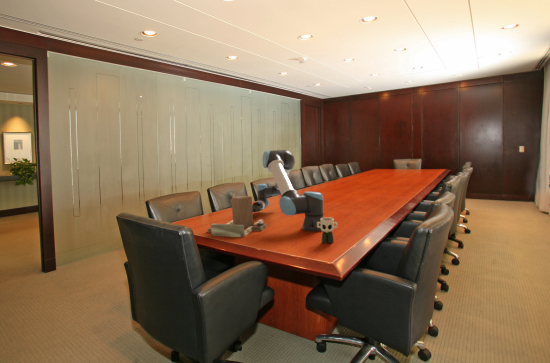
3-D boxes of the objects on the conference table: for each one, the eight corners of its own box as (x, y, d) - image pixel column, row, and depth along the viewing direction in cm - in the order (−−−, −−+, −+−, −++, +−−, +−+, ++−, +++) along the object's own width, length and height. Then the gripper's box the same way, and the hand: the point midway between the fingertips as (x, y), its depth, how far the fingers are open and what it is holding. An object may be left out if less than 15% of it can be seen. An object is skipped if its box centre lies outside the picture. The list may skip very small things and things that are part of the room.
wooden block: (245, 223, 213) (243, 195, 211) (253, 226, 205) (251, 196, 203) (232, 226, 207) (231, 197, 205) (240, 229, 199) (239, 198, 197)
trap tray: (228, 221, 222) (227, 211, 221) (271, 222, 212) (271, 212, 211) (202, 235, 189) (201, 224, 188) (253, 237, 178) (252, 226, 178)
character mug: (316, 244, 161) (316, 220, 160) (318, 240, 168) (317, 217, 167) (337, 244, 159) (337, 220, 157) (338, 240, 166) (337, 217, 164)
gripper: (266, 211, 233) (255, 218, 211) (250, 210, 237) (238, 217, 215) (266, 201, 233) (254, 207, 210) (250, 201, 237) (237, 207, 214)
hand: (246, 212), depth 213 cm, fingers closed
